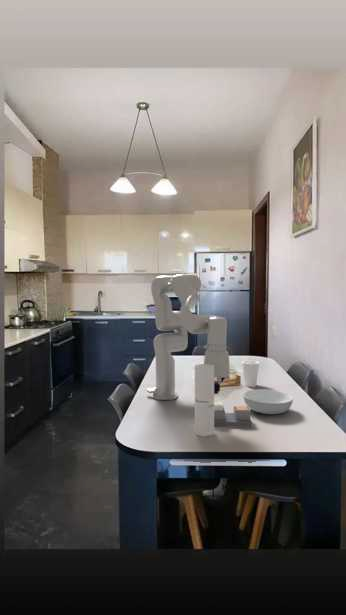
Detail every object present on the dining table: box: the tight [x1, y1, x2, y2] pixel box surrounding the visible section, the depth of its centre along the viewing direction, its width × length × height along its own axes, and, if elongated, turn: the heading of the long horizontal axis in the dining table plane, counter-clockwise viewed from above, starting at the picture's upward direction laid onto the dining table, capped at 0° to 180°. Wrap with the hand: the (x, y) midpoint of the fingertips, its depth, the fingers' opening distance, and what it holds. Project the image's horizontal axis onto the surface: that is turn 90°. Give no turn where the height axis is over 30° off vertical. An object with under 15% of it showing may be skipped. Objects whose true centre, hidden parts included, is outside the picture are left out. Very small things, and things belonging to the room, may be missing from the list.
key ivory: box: [214, 401, 224, 411], centre depth 146 cm, size 4×4×3 cm
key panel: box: [214, 405, 253, 428], centre depth 146 cm, size 16×10×6 cm, turn 88°
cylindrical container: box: [194, 363, 215, 437], centre depth 135 cm, size 7×7×25 cm
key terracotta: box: [235, 405, 249, 411], centre depth 145 cm, size 4×4×3 cm
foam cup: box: [241, 360, 260, 388], centre depth 201 cm, size 10×9×13 cm
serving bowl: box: [243, 388, 294, 415], centre depth 159 cm, size 21×21×7 cm
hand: (215, 392), depth 146 cm, fingers closed
